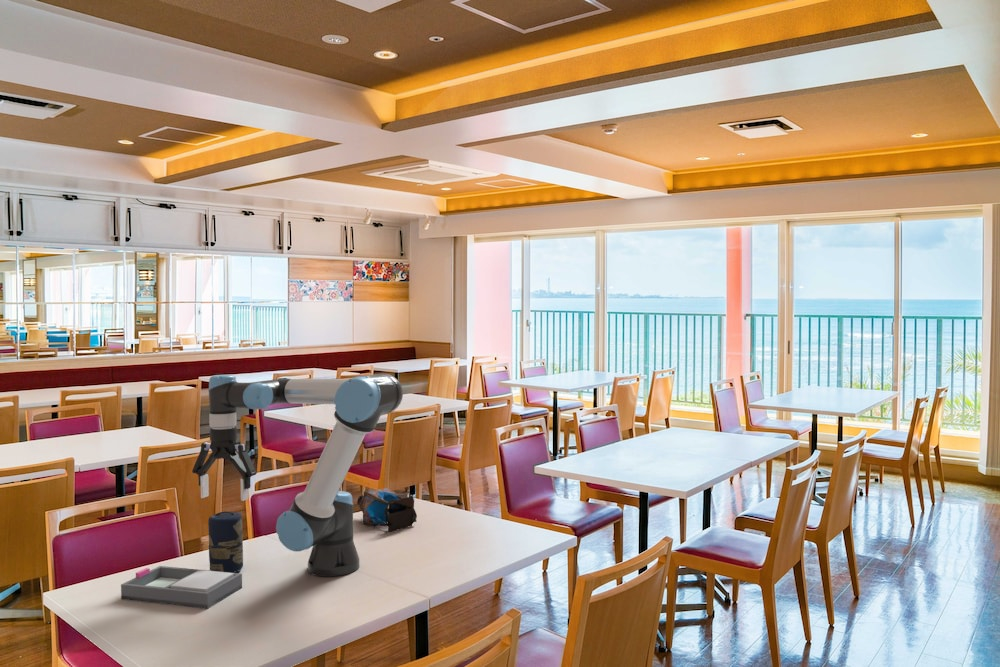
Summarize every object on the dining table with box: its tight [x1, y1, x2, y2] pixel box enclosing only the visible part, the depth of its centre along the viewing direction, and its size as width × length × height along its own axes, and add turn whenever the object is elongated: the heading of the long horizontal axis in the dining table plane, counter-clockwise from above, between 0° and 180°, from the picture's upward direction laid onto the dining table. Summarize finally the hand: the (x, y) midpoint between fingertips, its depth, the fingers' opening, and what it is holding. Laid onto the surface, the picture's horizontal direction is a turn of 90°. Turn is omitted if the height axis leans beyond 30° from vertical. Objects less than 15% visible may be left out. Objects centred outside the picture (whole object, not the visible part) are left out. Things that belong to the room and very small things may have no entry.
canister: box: [207, 510, 244, 573], centre depth 220 cm, size 10×10×18 cm
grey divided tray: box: [120, 565, 243, 610], centre depth 203 cm, size 27×15×5 cm, turn 75°
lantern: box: [356, 487, 418, 533], centre depth 268 cm, size 16×16×25 cm
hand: (224, 498), depth 219 cm, fingers open, 13 cm apart
